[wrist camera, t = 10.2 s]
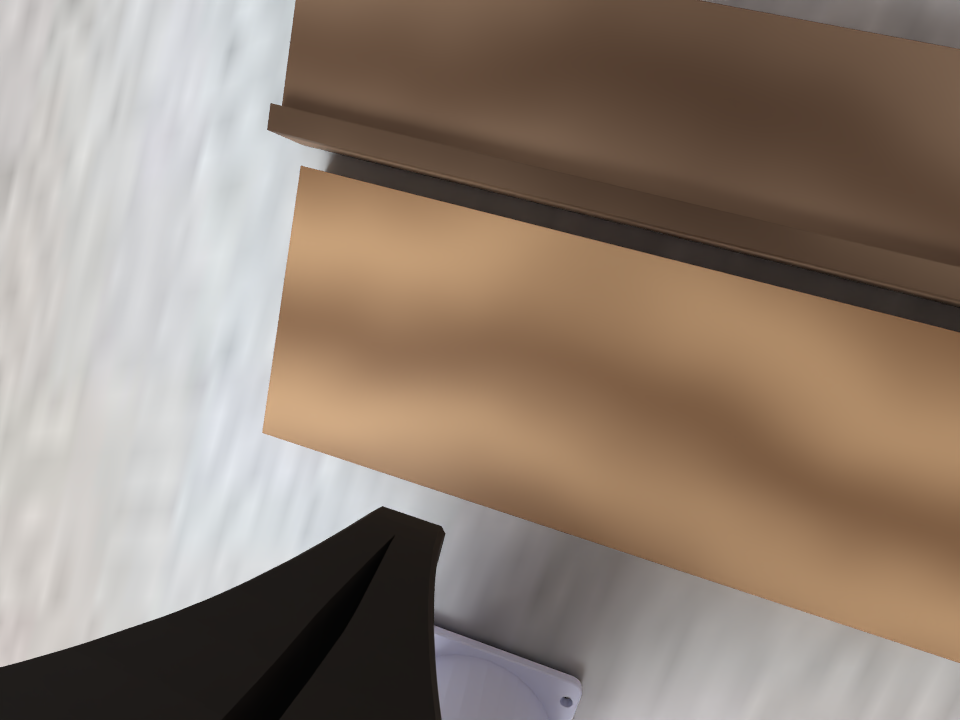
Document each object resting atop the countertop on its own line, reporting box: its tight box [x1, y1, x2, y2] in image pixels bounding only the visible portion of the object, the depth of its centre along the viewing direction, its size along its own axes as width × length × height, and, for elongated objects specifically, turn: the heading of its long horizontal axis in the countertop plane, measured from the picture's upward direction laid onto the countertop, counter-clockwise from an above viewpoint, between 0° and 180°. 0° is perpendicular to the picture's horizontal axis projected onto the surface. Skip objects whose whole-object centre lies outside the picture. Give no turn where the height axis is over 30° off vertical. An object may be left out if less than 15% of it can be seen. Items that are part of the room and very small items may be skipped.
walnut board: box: [267, 0, 960, 307], centre depth 14 cm, size 6×28×2 cm, turn 76°
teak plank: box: [262, 166, 960, 663], centre depth 16 cm, size 10×26×2 cm, turn 76°
